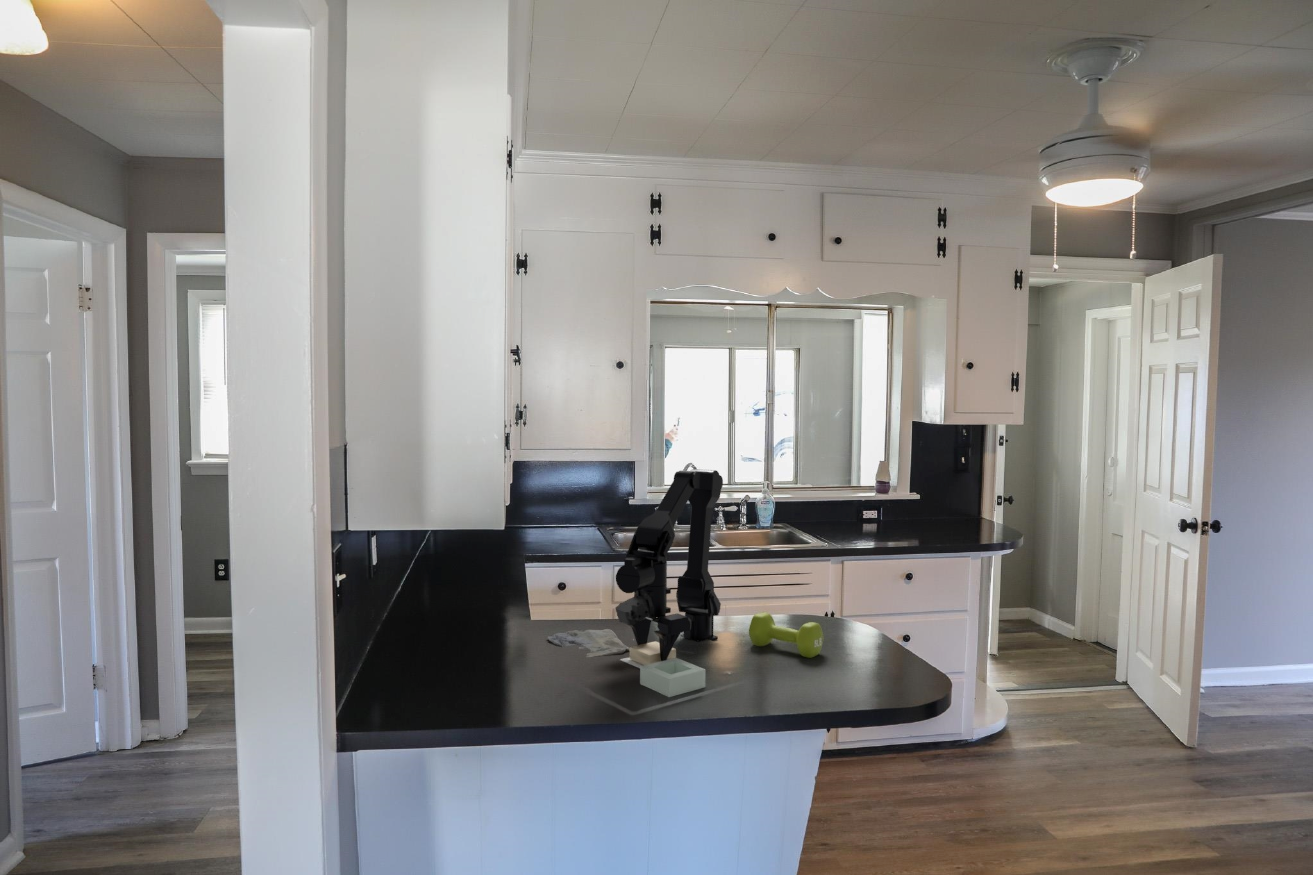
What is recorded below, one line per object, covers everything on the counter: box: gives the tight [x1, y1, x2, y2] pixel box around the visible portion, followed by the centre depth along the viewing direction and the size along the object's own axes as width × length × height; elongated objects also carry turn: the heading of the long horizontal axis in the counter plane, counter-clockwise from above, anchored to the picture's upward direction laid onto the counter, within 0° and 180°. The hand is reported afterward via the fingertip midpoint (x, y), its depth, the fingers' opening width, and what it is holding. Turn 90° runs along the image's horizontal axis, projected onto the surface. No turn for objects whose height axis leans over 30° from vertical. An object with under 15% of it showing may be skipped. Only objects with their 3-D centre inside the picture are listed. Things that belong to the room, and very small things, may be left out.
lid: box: [629, 640, 677, 665], centre depth 176 cm, size 7×7×2 cm
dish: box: [639, 657, 707, 698], centre depth 161 cm, size 9×9×4 cm
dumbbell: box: [748, 611, 825, 659], centre depth 187 cm, size 16×8×7 cm, turn 50°
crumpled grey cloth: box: [547, 628, 630, 658], centre depth 188 cm, size 18×15×2 cm
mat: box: [619, 656, 644, 669], centre depth 176 cm, size 10×10×1 cm
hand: (652, 656), depth 176 cm, fingers closed on lid, 7 cm apart
